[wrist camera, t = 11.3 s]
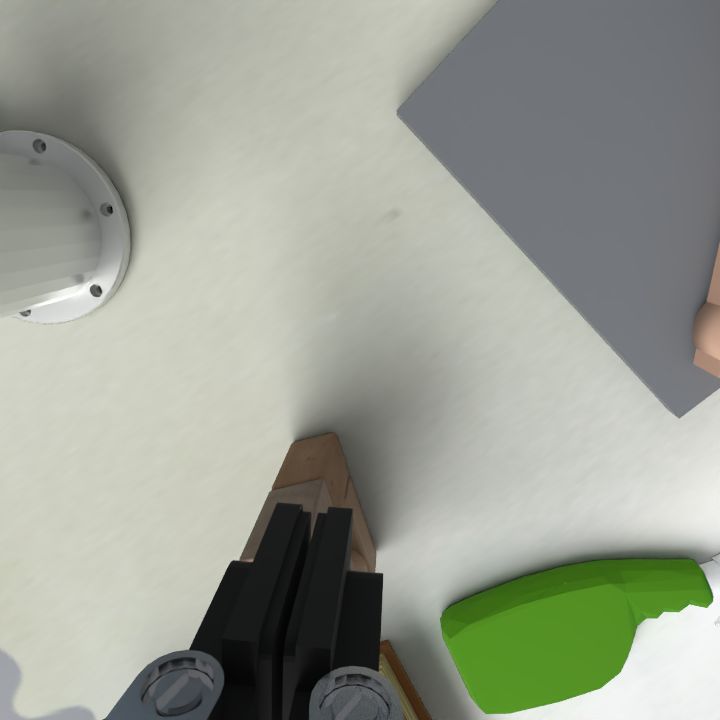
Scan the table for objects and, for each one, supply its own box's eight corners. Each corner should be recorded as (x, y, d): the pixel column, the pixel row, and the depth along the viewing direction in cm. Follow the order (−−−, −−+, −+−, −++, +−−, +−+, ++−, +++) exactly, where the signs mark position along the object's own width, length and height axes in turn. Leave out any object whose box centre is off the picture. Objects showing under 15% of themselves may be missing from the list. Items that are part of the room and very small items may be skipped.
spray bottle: (431, 598, 44) (745, 495, 41) (479, 700, 47) (779, 612, 43) (434, 624, 42) (771, 517, 38) (485, 732, 44) (807, 641, 40)
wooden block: (336, 429, 41) (290, 598, 23) (377, 553, 43) (363, 787, 26) (289, 441, 41) (209, 615, 24) (333, 563, 44) (289, 799, 26)
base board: (396, 114, 34) (396, 111, 33) (666, -176, 30) (680, -195, 28) (668, 410, 38) (679, 418, 37) (946, 196, 34) (970, 196, 32)
